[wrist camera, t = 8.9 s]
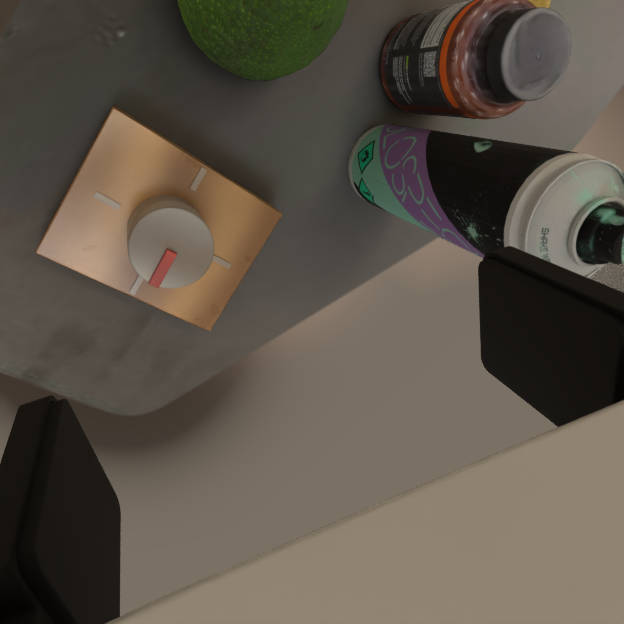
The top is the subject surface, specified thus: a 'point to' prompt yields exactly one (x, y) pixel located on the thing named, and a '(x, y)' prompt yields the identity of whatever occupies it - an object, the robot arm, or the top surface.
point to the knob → (169, 242)
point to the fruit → (262, 33)
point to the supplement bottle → (475, 58)
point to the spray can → (495, 194)
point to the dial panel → (135, 189)
